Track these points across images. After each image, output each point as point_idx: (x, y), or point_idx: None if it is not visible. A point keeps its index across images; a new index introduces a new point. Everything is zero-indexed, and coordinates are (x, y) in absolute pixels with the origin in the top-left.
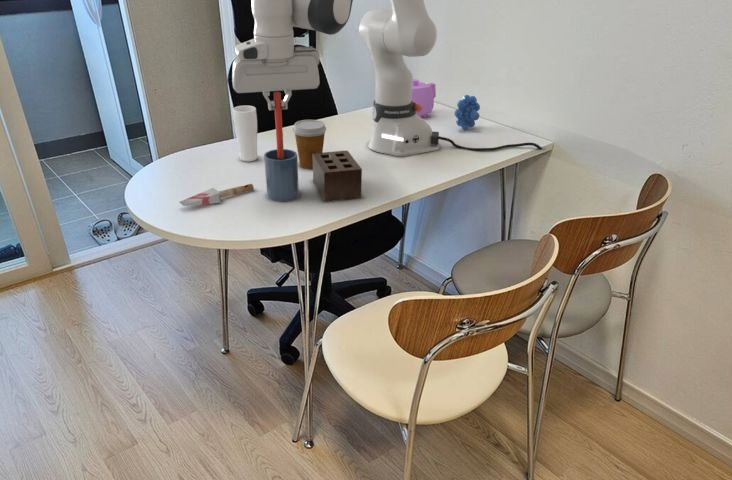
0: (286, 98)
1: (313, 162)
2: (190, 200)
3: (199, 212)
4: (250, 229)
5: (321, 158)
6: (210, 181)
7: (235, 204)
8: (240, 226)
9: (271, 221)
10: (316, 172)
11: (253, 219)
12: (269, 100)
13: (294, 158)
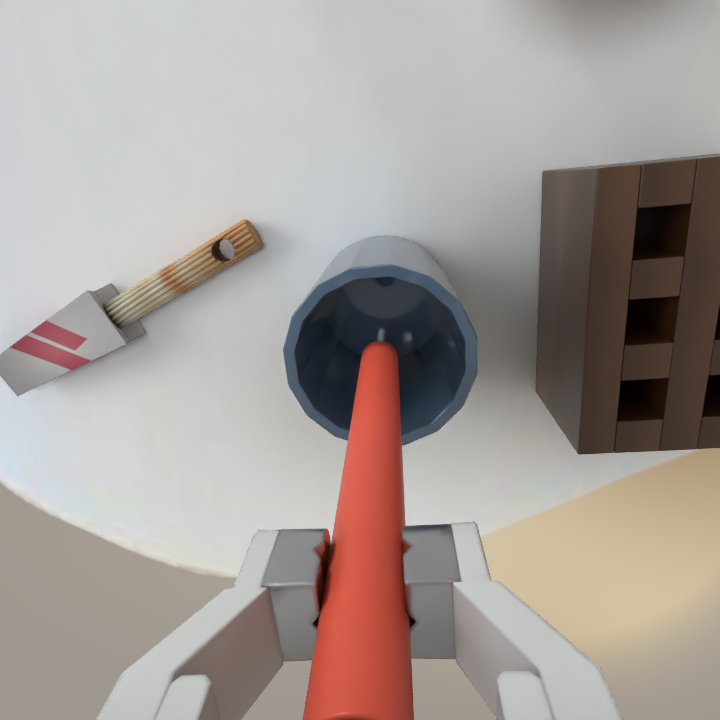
0: (490, 708)
1: (577, 195)
2: (27, 365)
3: (84, 395)
4: (263, 527)
5: (626, 266)
6: (56, 92)
7: (200, 354)
8: (232, 506)
9: (327, 493)
10: (563, 267)
11: (270, 472)
12: (249, 697)
13: (452, 414)
